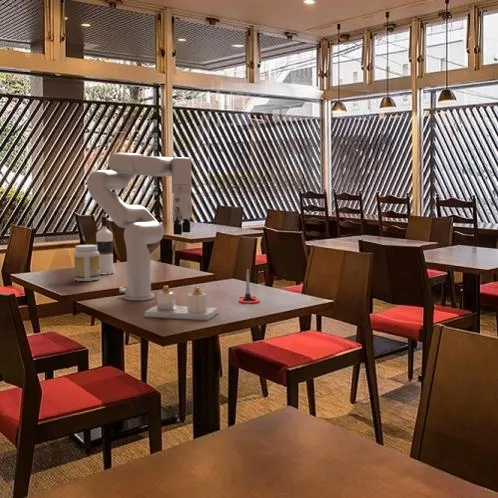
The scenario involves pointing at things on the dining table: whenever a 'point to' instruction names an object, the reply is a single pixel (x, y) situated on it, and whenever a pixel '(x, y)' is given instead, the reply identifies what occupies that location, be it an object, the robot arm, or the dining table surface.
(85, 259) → the supplement tub
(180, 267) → the dining table surface
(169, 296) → the white tray with jars
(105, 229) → the vodka
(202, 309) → the sleeve
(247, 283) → the grey tall post
